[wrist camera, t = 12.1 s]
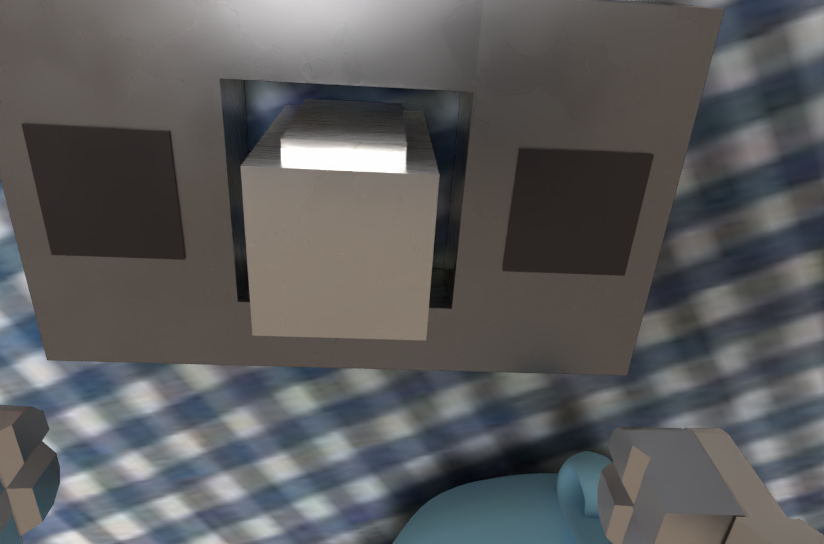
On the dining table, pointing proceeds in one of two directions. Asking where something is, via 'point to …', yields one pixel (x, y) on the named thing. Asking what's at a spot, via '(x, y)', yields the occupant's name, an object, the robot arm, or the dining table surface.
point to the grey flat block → (358, 66)
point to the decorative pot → (516, 509)
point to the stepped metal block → (341, 222)
